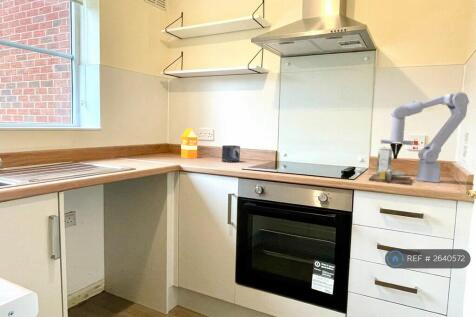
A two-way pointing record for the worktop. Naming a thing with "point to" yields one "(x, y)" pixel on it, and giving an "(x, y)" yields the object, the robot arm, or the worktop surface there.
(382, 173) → the small silver pan
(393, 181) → the post board
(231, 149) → the small box
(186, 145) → the orange juice
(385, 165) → the syrup box
